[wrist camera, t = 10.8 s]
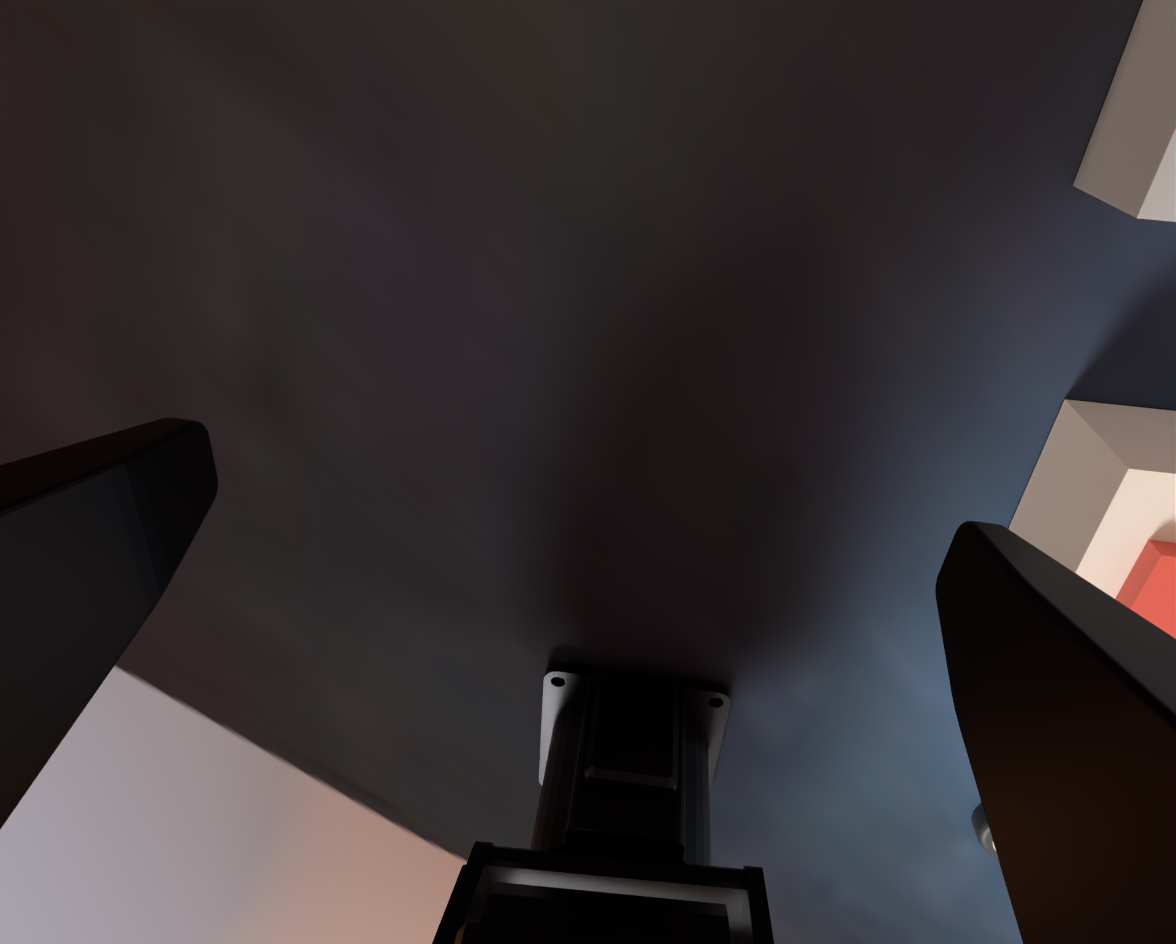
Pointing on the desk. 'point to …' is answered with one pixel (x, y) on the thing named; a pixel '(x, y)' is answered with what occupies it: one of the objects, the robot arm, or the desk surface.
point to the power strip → (1109, 503)
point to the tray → (1138, 123)
